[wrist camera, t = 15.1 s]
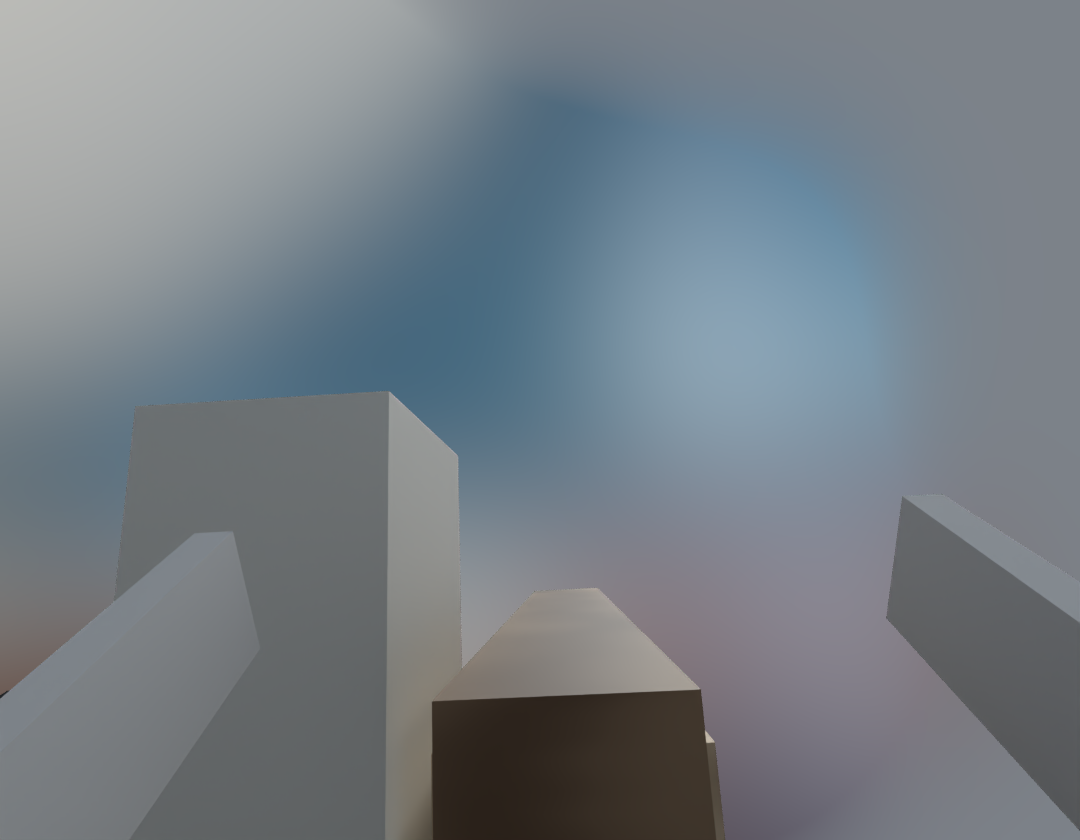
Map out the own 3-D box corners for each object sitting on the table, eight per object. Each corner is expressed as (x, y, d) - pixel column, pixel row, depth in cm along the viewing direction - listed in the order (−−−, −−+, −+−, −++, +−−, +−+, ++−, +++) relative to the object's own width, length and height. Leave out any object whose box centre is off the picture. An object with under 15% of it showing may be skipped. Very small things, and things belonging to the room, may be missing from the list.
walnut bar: (434, 1022, 7) (431, 700, 8) (537, 657, 32) (534, 591, 33) (734, 1016, 7) (700, 689, 8) (602, 654, 32) (597, 587, 33)
